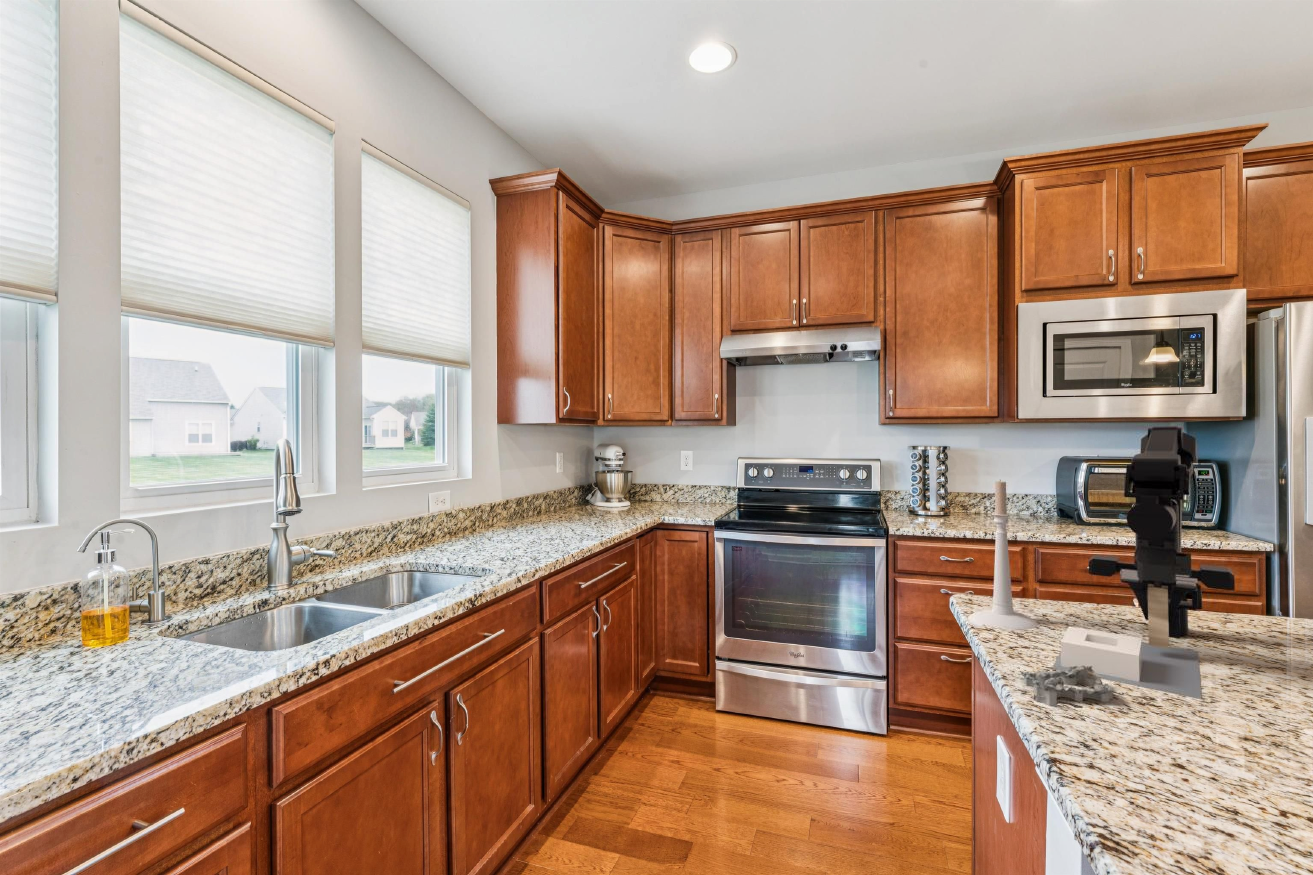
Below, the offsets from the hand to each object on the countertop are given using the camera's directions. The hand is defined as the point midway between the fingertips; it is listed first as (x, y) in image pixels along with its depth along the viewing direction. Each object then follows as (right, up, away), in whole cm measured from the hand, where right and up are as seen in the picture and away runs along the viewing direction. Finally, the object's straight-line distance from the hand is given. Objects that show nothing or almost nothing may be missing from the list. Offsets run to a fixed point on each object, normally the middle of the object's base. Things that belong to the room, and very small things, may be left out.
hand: (1158, 621), depth 101 cm
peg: (0, -4, 0) cm, 4 cm away
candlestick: (-15, -7, +20) cm, 26 cm away
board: (-7, -7, -2) cm, 10 cm away
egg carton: (-25, -8, -13) cm, 29 cm away
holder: (-12, -6, -4) cm, 14 cm away
